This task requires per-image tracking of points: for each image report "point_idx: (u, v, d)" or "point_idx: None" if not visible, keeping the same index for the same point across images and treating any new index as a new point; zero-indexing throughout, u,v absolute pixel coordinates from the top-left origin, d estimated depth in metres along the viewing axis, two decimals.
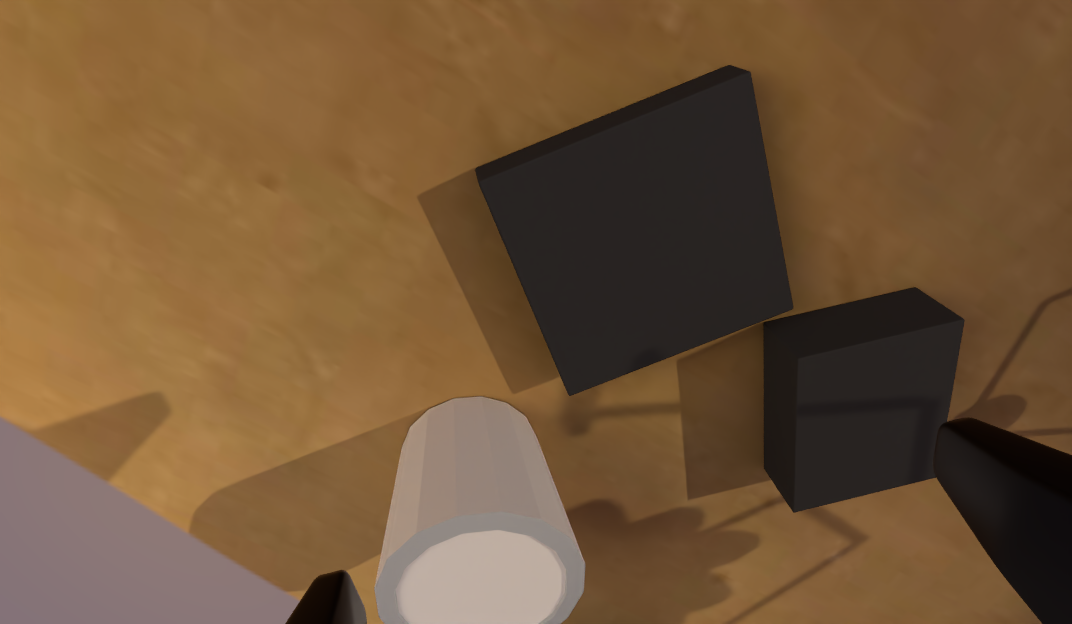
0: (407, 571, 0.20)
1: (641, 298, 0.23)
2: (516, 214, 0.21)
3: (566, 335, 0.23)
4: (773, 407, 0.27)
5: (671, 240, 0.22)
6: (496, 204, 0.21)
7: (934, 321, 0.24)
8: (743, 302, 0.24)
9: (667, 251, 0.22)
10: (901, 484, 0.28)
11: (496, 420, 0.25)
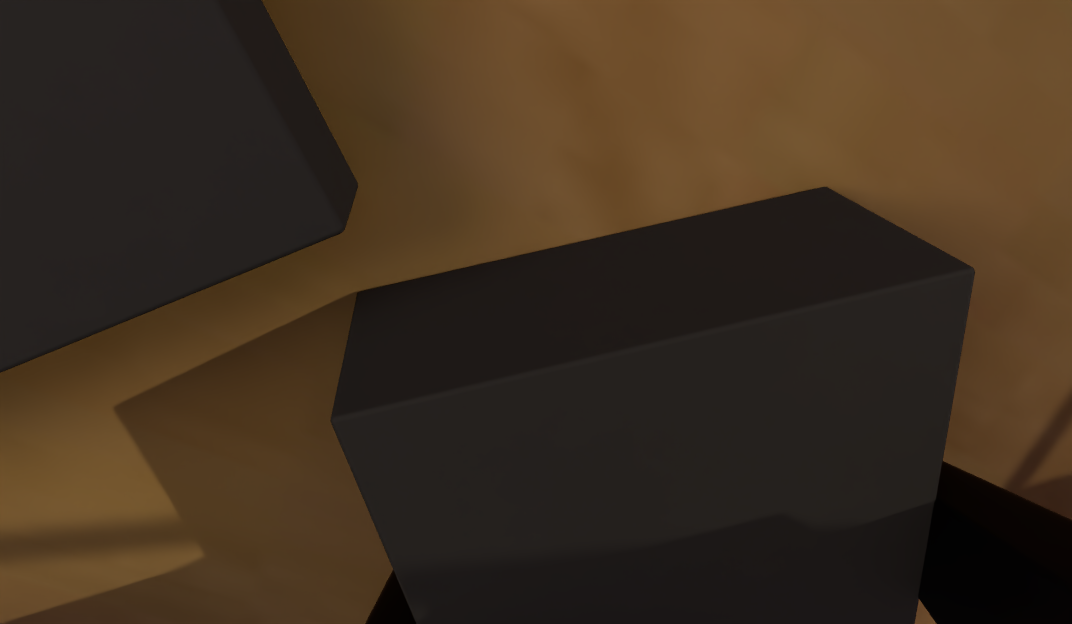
0: None
1: None
2: None
3: None
4: None
5: None
6: None
7: (865, 276, 0.07)
8: (112, 200, 0.06)
9: None
10: None
11: None
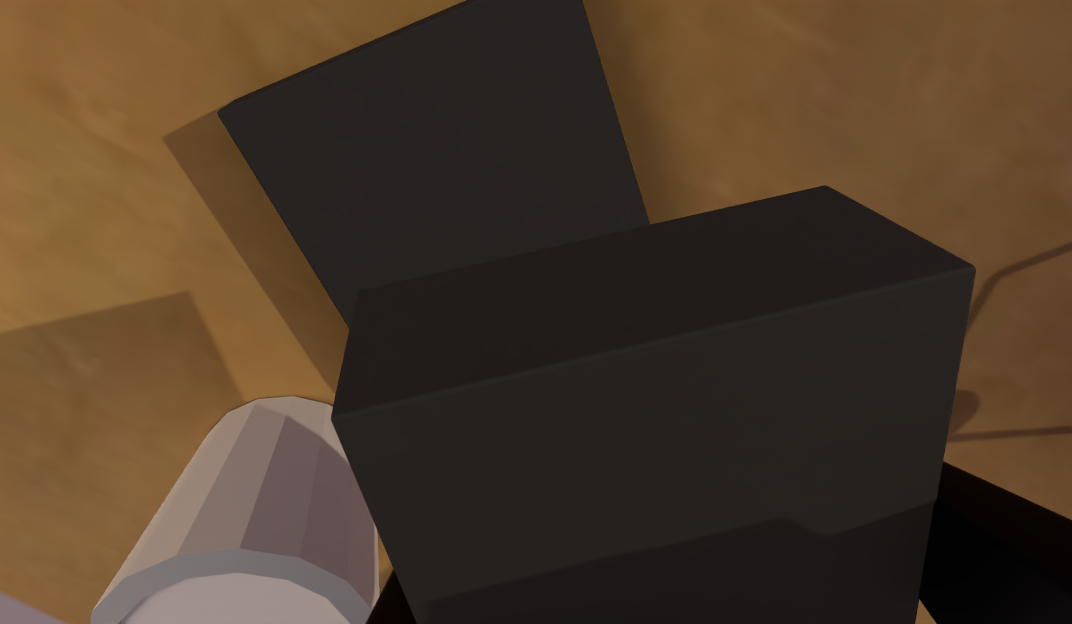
0: None
1: None
2: (277, 157, 0.16)
3: None
4: None
5: (494, 193, 0.17)
6: (246, 143, 0.16)
7: (865, 274, 0.07)
8: None
9: (490, 207, 0.17)
10: None
11: (299, 426, 0.20)
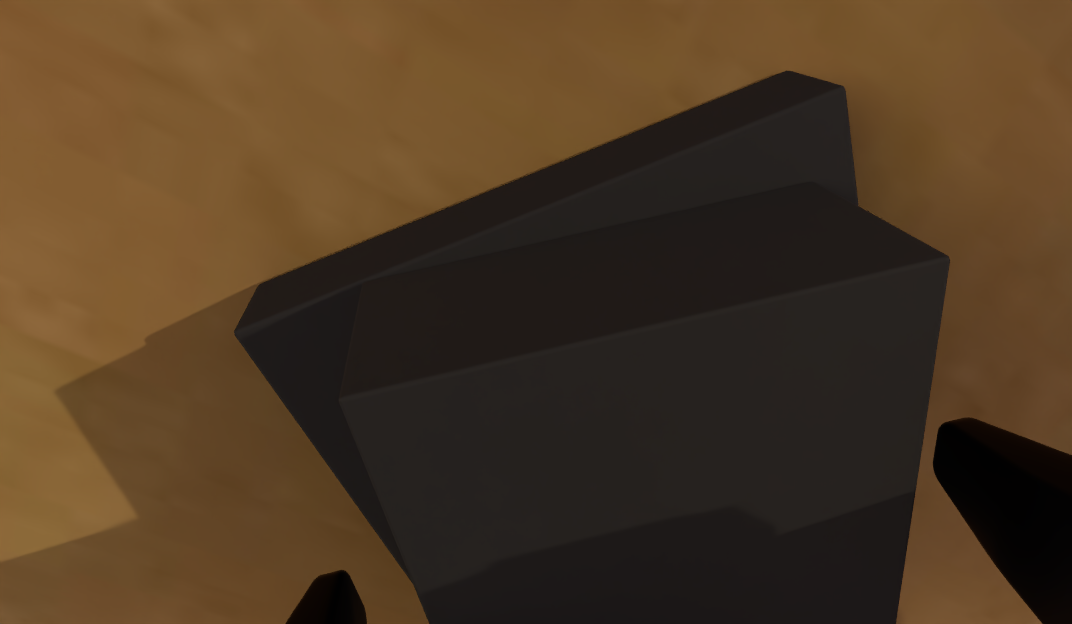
0: None
1: None
2: (332, 391, 0.10)
3: None
4: None
5: None
6: (282, 374, 0.09)
7: (846, 264, 0.07)
8: None
9: None
10: None
11: None
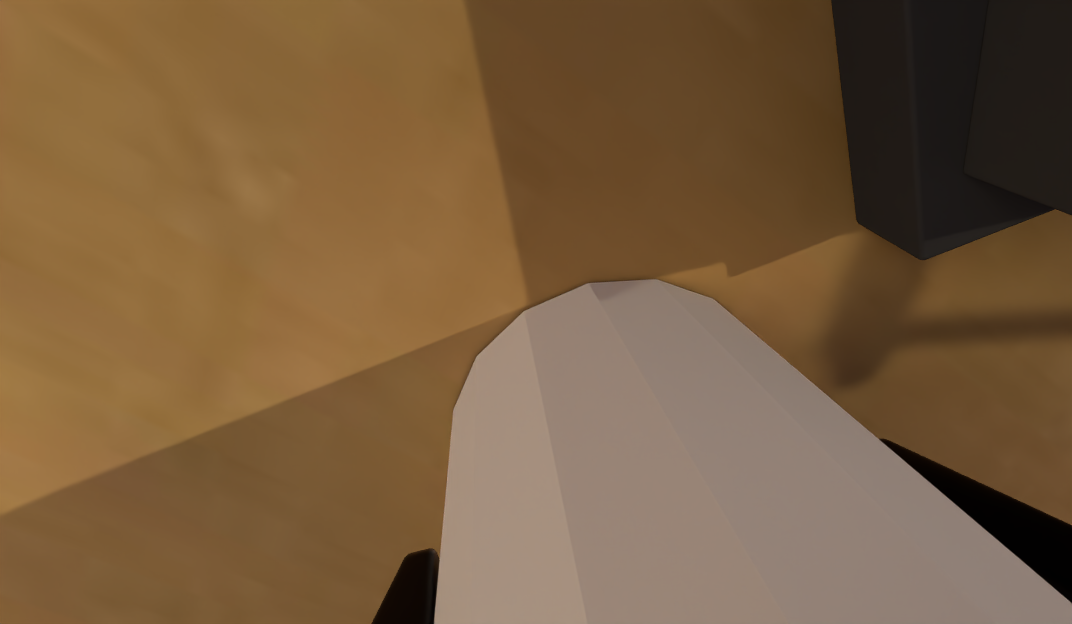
0: None
1: None
2: None
3: (971, 55, 0.08)
4: None
5: None
6: None
7: None
8: None
9: None
10: None
11: (722, 327, 0.09)
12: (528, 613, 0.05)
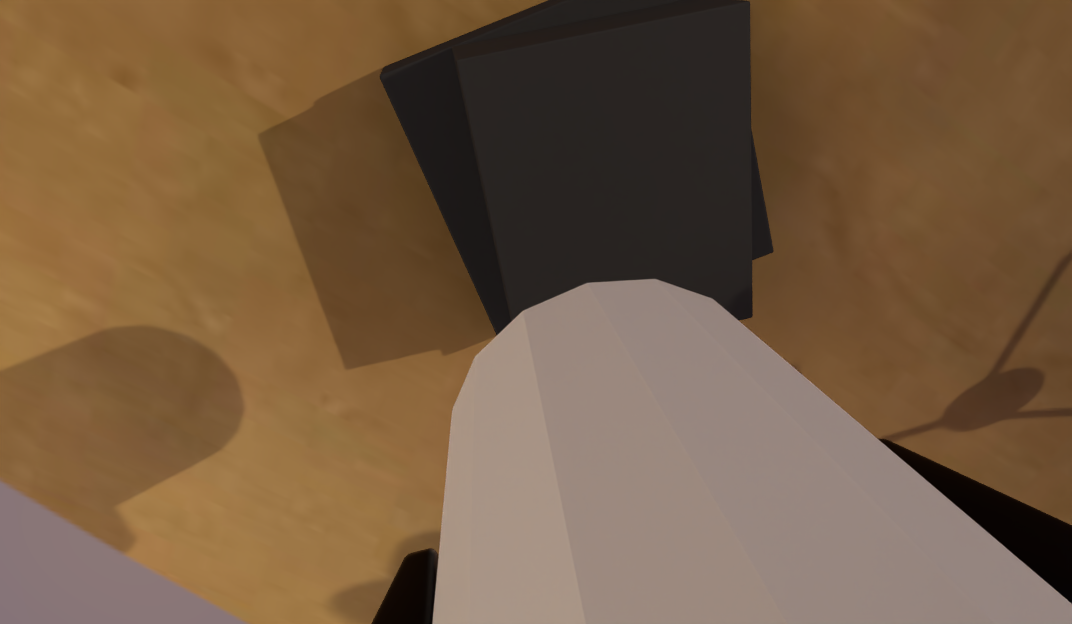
0: None
1: None
2: (430, 120, 0.17)
3: (499, 278, 0.19)
4: None
5: None
6: (403, 106, 0.17)
7: (701, 8, 0.14)
8: None
9: None
10: None
11: (721, 327, 0.09)
12: (527, 613, 0.05)
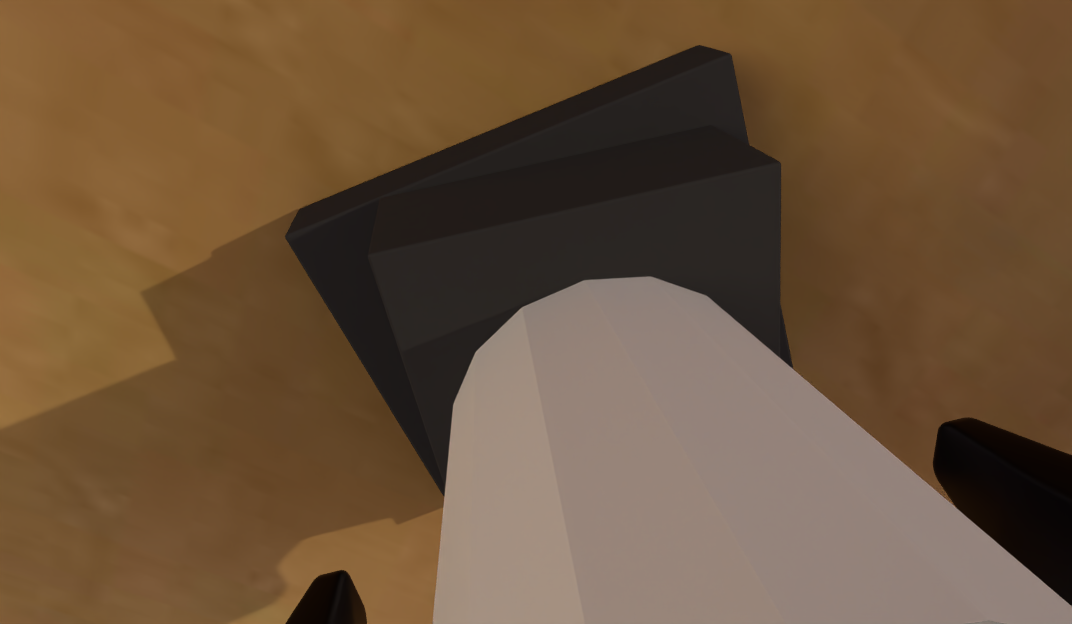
0: None
1: None
2: (356, 285, 0.13)
3: None
4: None
5: None
6: (319, 270, 0.13)
7: (713, 169, 0.10)
8: None
9: None
10: None
11: (714, 323, 0.09)
12: (524, 590, 0.06)
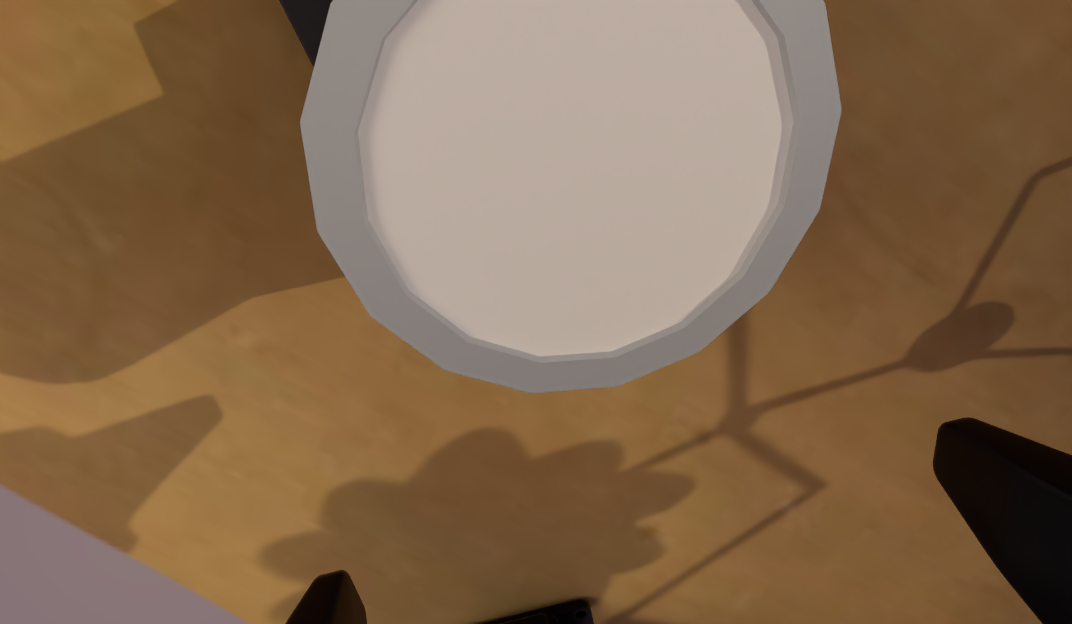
0: (389, 64, 0.07)
1: None
2: None
3: None
4: None
5: None
6: None
7: None
8: None
9: None
10: None
11: None
12: None
